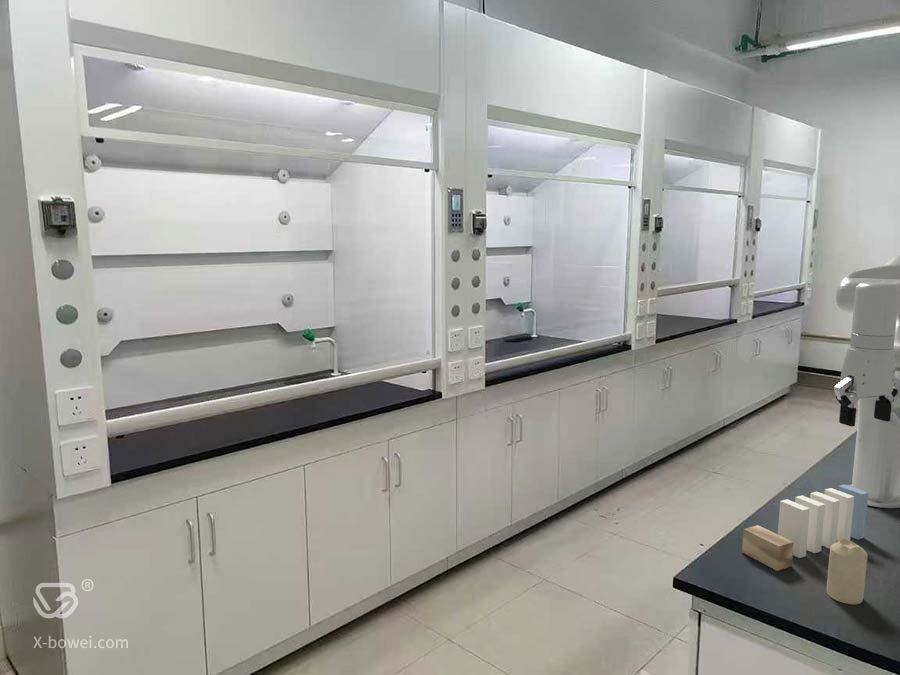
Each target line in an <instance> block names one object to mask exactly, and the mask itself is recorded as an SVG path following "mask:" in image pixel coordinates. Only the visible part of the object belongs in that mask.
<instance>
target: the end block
mask: <svg viewBox="0 0 900 675" xmlns="http://www.w3.org/2000/svg"><path fill="white" fill-rule="evenodd" d="M742 532H743V533H742V546H741V553H742V554H744V555H746V556H748V557H750V558H752V559H754V560H756V561H757V560H758V562H759V563H762V564H764V566H766V567H769V568H771V569H772V568H773V570H775V571H781V570H785V569H789V568H791V567H792V564H793V555H792V554H793V541H790V540H788V539H786V538H784V537H782V536H780V535H778V533H776V532H773V531H771V530H769V529H767V528H765V527H762V526H761V525H757V524H756V525H753V526H749V527H746V528H743V531H742Z"/></svg>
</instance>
